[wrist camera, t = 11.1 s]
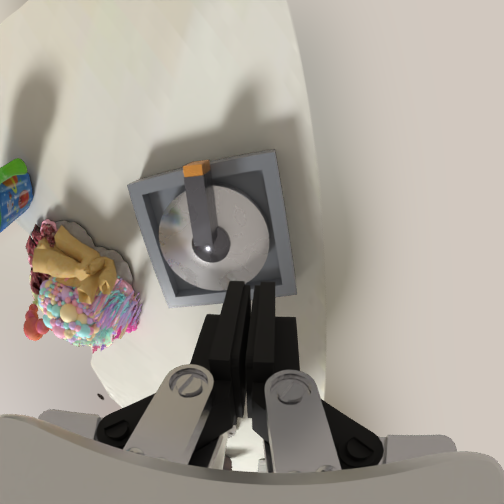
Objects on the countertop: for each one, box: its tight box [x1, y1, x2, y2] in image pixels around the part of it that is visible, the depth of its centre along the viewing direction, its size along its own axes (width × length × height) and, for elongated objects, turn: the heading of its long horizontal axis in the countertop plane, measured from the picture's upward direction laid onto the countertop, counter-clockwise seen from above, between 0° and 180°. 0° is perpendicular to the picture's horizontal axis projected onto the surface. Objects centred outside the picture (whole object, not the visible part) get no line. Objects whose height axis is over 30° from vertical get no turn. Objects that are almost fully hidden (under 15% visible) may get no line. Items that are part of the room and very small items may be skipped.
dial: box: [159, 160, 270, 291], centre depth 29 cm, size 15×12×5 cm
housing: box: [127, 149, 297, 308], centre depth 32 cm, size 16×16×3 cm
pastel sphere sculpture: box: [24, 219, 142, 354], centre depth 35 cm, size 25×24×9 cm
